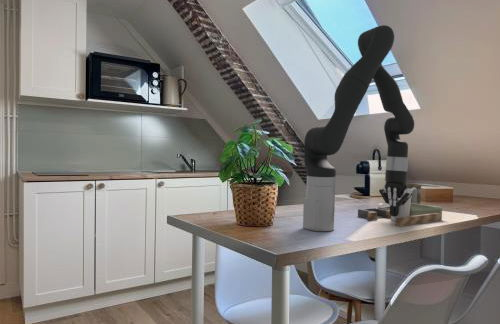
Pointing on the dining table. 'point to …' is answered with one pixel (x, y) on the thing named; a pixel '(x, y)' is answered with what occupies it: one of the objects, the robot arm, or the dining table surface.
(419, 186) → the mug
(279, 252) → the dining table surface
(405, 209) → the cup
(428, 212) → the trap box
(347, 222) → the dining table surface
